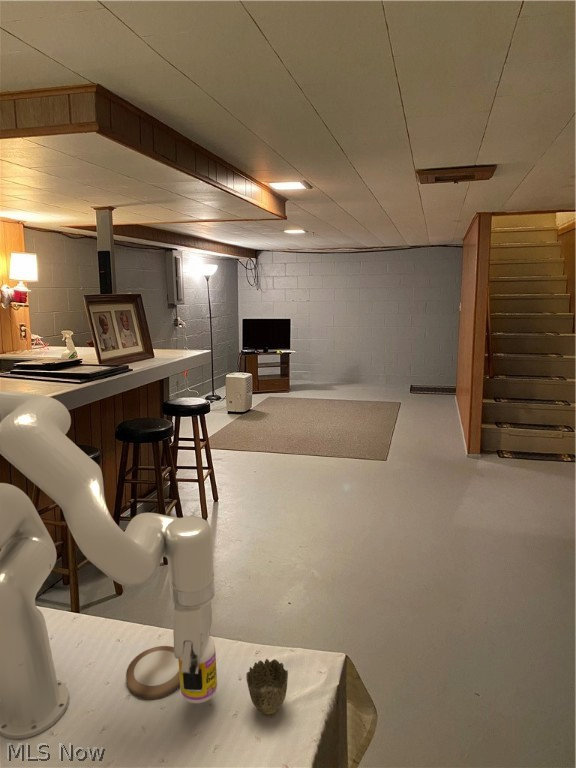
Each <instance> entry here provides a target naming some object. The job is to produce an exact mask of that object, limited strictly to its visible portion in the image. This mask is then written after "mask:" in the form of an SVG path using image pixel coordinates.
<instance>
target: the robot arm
mask: <svg viewBox="0 0 576 768" xmlns="http://www.w3.org/2000/svg"><path fill="white" fill-rule="evenodd" d="M71 424H72V418H71V414H70V412H69V410H68V409H67V407H66V406H65V405H64V404H63V403H62V402H60V401H59V400H58V399H56V398H54V397H50V396H47V395H43V394H37V393H28V392H18V391H7V390H0V455H1V456H3V458H4V459H6V461H8V462H9V463H10V464H11V465H13V467H15V469H17V470H18V471H19V472H20V473H22V474H23V475H24V477H26V478H27V479H28V480H30V481H31V482H32V483H33V484H34V485H36V486H37V487H38V488H39V489H40V490H41V491H42V492H44V493H45V494H46V496H48V497H49V498H50V499H51V500H52V501H54V503H56V504H57V505H58V506H59V507H60V509H61V510H62V513H63V516H64V520H65V523H66V525H67V526H68V527H67V528H68V529H69V531H70V533H71V536H72V537H73V539H74V541H75V543H76V544H77V547H78V548H79V550H80V551H81V552H82V555H84V556H85V557H86V559H87V560H88V561H89V562H90V563H92V564H93V565H94V566H96V568H97V569H99V570H100V571H101V572H102V573H103V574H104V575H106V576H107V577H109V579H111V580H112V581H114V582H116V583H117V584H119V585H121V586H124V587H129V588H139V587H142V586H145V585H147V584H148V583H150V582H151V581H152V580H153V579H154V578H155V575H156V574H157V572H158V571H159V568H160V565H161V563H162V560H163V558H164V557H165V558H166V559H167V569H168V579H169V581H168V582H169V592H170V600H171V602H172V604H173V605H174V608H173V619H172V622H173V623H172V624H173V626H172V627H173V631H172V632H173V647H174V656H175V658H176V659H177V658H179V659H180V658H181V656H182V653H183V660H182V668H181V672H182V673H183V683H184V689H188V690H202V687H203V684H202V669H200V658H201V657H202V656H203V653H204V650H205V646H206V643H207V642H206V641H207V635H208V631H209V636H210V635H211V634H210V633H211V632H210V631H211V628H212V622H213V609H212V600H213V599H214V598H215V594H216V593H215V591H216V590H215V572H214V556H213V539H212V538H213V537H212V533H213V532H212V528H211V525H210V523H209V522H208V521H207V520H206V519H204V518H202V517H198V516H193V515H192V516H191V515H190V516H184V517H176V516H175V517H174V516H169V515H165V514H160V513H156V512H143V513H142V512H141V513H139V514H136V515H135V516H134V517H133V518H131V520H130V522H129V523H128V524H127V526H126V528H125V530H124V531H123V529H121V528H120V526H119V525H118V524H117V523H116V522H115V520H114V518H113V517H112V515H111V513H110V511H109V509H108V506H107V503H106V497H105V489H104V488H105V487H104V477H103V472H102V469H101V467H100V465H99V464H98V463H97V462H96V461H95V460H94V459H92V458H91V457H90V456H89V455H88V454H87V453H85V451H83V450H82V449H81V448H80V447H79V446H77V445H76V443H74V442H73V440H71V439H70V438H69V437H68V436H67V435H66V434H68V431H69V430H70V427H71ZM57 557H58V555H57V549H56V546H55V543H54V541H53V539H52V537H51V535H50V533H49V531H48V529H47V527H46V526H45V523H44V522H43V520H42V517H40V515H39V512H38V511H37V509H36V506H35V505H34V503H33V502H32V500H31V498H30V497H29V496H28V495H27V494H26V493H25V492H24V491H23V490H22V489H21V488H19V487H17V486H16V485H13V484H9V483H7V482H6V483H5V482H0V735H1V736H3V737H5V738H8V739H16V740H17V739H26V738H30V737H33V736H36V735H38V734H40V733H43V732H44V731H46V730H48V729H49V728H51V727H52V726H53V725H54V724H55V723H57V722H58V721H59V720H60V719H61V718H62V716H63V715H64V714H65V712H66V709H68V706H69V703H70V692H69V689H68V687H67V685H66V683H64V682H63V681H61V680H60V679H57V673H56V668H55V664H54V659H53V653H52V647H51V644H50V638H49V633H48V627H47V623H46V619H45V616H44V614H43V612H42V611H41V610H40V609H39V608H38V607H37V605H36V598H37V594H38V592H39V591H40V590H41V588H42V586H43V584H44V582H45V581H46V579H47V578H48V577H49V575H50V574H51V571H52V570H53V569H54V567H55V565H56V563H57ZM210 637H211V636H210ZM192 650H193V651H194V653H192ZM191 659H196V662H195V666H191Z"/></svg>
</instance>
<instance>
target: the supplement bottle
mask: <svg viewBox="0 0 576 768" xmlns="http://www.w3.org/2000/svg"><path fill="white" fill-rule="evenodd" d="M206 642H207V643H206V646H205V650H204V653H203V656H202V657H201V658H200V669H202V684H203V687H202V690H188V689H184V683H183V673H182V672H181V668H182V660H183V653H182V656H181V658H180V659H179V658H178V661H179V676H180V688H179V689H180V694H181V696H182V698H183V699H184V700H185V701H187V702H188V703H191V704H201V703H205V702H207V701H209V700H210V699H212V698H213V697H214V696H215V694H216V692H217V689H218V679H217V677H218V676H217V675H218V673H217V671H218V670H217V657H216V655H217V654H216V644H215V641H214V639H213V638H212V637H211V636H209V631H208V635H207V641H206ZM192 653H194V651H193V650H192ZM195 662H196V659H191V666H195Z"/></svg>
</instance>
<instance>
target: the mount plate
mask: <svg viewBox="0 0 576 768" xmlns="http://www.w3.org/2000/svg"><path fill="white" fill-rule="evenodd" d="M125 679H126V684H127V688H128V690H129V691H130V693H131V694H132V695H134V697H137V698H139V699H144V700H156V699H158V700H159V699H162V698H165V697H167V696H170V695H171V694H173V693H175V692H176V691H178V690H179V689H180V676H179V661H178V658H177V659H176V658H175V656H174V646H171V645H159V646H154V647H151V648H149V649H146V650H144V651H142V652H141V653H139V654H138V655H136V656H135V657H134V658H133V659H132V660H131V661H130V663H129V664H128V666H127V669H126V672H125Z"/></svg>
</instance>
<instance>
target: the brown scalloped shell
mask: <svg viewBox="0 0 576 768" xmlns="http://www.w3.org/2000/svg"><path fill="white" fill-rule="evenodd" d="M248 670H249V671H247V672H246V677H245V678H246V679H245V680H246V683H247V687H248V692H249V696H250V699H251V702H252V704H253V705H254V706H255V708H256V709H258V710H259V712H260V713H261V714H262V715H263V716H265V717H272V716H274V715H276V714H277V712H278V711H279V708H281V706H282V705H283V704H284V701H285V699H286V696H287V690H288V679H289V674H288V673H289V670H288V669H285V666H284V664H283V663H282V662H279V661H278V660H277V659H276V658H275V659H274V658H273V659H272V660H271V661H270V660H269V659H268V658H265V661H264V662H263V661H262V660H258V662H254V665H253V666H252V667H251V666H250V667H249V669H248Z"/></svg>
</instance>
